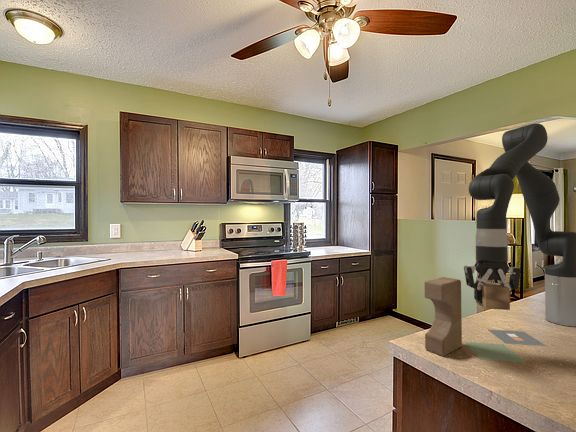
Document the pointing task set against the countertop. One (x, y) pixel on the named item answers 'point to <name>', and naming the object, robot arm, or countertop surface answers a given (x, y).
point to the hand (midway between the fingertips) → (491, 302)
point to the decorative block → (444, 315)
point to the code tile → (516, 337)
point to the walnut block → (495, 296)
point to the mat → (493, 352)
